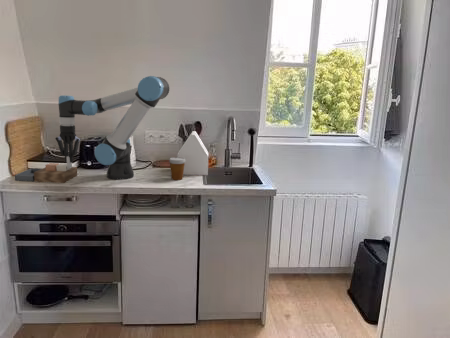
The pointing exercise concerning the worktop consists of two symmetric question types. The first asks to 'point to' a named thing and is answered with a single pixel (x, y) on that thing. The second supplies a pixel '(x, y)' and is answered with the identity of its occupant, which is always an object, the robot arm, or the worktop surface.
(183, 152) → the white house model
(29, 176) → the tray
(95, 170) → the worktop surface
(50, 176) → the walnut board
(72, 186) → the worktop surface
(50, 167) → the terracotta tile
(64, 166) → the cream tile
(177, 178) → the disposable coffee cup
